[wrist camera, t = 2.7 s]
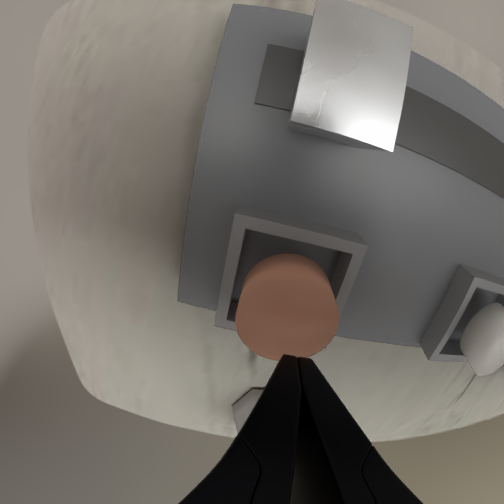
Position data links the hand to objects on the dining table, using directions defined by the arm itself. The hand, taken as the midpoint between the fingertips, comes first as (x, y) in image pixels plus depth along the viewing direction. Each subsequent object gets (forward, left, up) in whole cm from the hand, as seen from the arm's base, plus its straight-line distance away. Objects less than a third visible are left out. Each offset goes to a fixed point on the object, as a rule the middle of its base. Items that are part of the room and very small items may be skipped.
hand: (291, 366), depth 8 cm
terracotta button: (0, 0, -4) cm, 4 cm away
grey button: (-12, 0, -4) cm, 13 cm away
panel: (-6, -5, -8) cm, 11 cm away
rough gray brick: (0, -8, -5) cm, 10 cm away
